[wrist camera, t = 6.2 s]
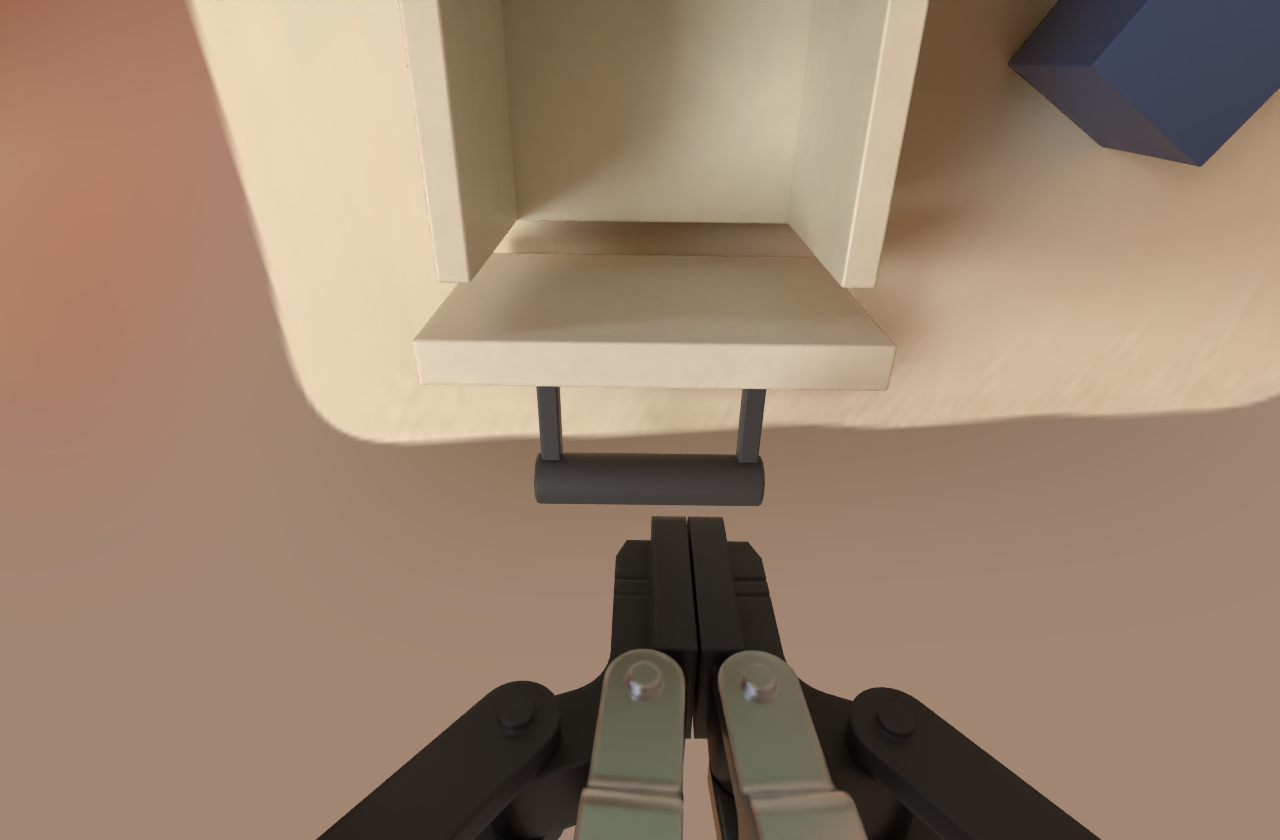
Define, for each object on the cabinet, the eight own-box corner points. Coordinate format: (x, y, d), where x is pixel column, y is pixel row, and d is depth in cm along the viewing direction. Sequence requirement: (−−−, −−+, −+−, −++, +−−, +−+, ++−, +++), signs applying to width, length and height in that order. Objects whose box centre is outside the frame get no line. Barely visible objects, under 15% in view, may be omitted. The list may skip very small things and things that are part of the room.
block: (1126, -86, 19) (1252, -122, 15) (1223, 13, 20) (1363, 4, 16) (1006, 63, 20) (1091, 66, 17) (1101, 146, 22) (1201, 167, 18)
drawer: (795, 427, 26) (851, 563, 19) (498, 423, 26) (446, 558, 19) (891, -238, 17) (1068, -442, 10) (430, -245, 16) (281, -456, 10)
